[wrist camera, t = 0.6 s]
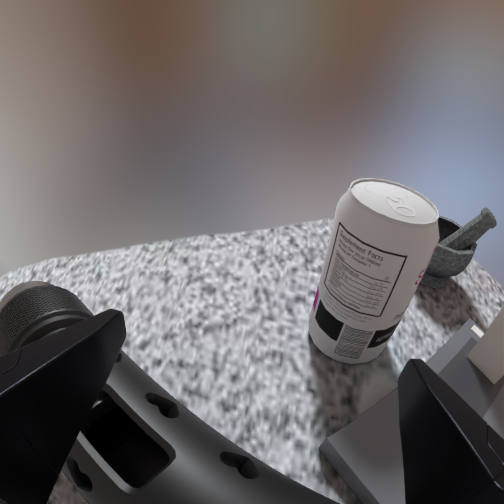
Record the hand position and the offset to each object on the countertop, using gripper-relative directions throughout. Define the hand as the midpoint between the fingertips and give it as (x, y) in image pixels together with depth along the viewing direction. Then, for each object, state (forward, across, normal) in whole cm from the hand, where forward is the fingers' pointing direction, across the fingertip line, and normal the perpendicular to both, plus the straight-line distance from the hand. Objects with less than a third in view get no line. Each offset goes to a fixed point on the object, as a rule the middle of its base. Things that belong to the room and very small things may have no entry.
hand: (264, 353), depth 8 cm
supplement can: (+17, -8, +12) cm, 23 cm away
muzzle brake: (+2, +6, +16) cm, 18 cm away
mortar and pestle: (+29, -22, +10) cm, 38 cm away
